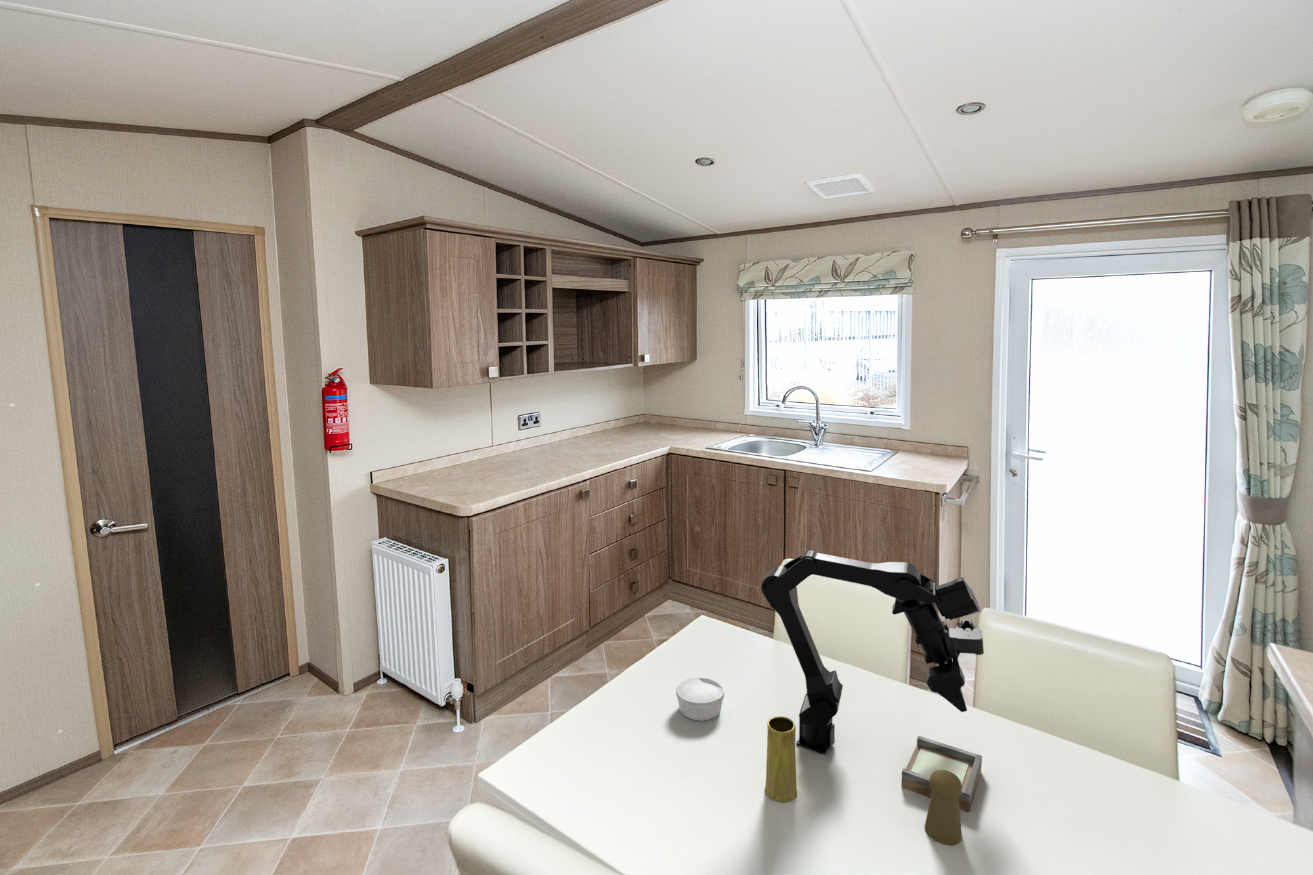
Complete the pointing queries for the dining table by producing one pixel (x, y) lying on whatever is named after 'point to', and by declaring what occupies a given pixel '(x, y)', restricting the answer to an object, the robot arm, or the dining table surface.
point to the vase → (781, 759)
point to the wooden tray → (942, 758)
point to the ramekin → (700, 698)
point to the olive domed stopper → (944, 808)
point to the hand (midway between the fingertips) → (963, 698)
